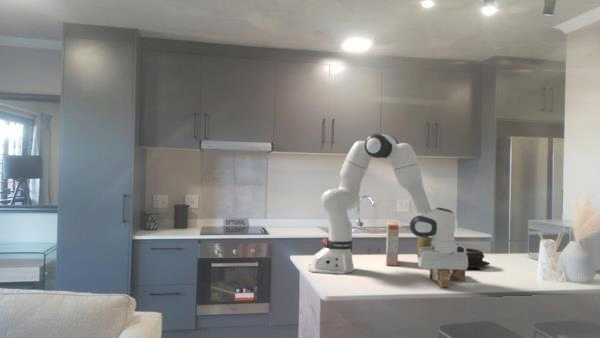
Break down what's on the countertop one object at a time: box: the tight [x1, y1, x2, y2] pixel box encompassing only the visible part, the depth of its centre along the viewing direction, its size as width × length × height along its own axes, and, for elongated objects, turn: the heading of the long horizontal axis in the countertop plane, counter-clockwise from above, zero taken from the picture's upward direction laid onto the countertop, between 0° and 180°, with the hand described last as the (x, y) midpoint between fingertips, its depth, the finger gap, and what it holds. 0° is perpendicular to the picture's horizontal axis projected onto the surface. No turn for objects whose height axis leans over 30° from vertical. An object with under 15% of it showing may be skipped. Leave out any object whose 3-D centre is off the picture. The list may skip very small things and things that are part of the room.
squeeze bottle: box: [416, 236, 432, 260], centre depth 224 cm, size 8×8×18 cm
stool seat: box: [429, 269, 466, 282], centre depth 187 cm, size 15×12×6 cm
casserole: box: [465, 247, 491, 270], centre depth 211 cm, size 25×19×8 cm
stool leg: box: [431, 269, 450, 288], centre depth 177 cm, size 16×3×6 cm, turn 0°
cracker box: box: [385, 221, 400, 267], centre depth 215 cm, size 14×6×21 cm, turn 168°
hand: (442, 279), depth 173 cm, fingers open, 3 cm apart
